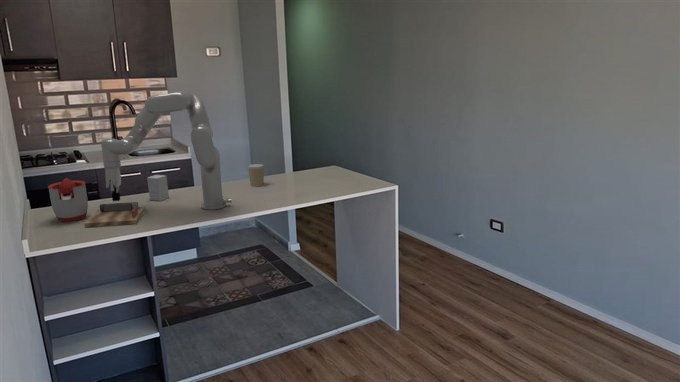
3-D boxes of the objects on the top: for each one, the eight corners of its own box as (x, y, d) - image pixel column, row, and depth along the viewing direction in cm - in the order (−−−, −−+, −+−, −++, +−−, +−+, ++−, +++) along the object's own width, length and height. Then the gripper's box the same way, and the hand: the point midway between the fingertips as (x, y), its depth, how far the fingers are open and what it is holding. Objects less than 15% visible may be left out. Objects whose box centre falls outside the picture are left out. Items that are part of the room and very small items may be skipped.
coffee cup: (268, 184, 290) (267, 164, 287) (257, 187, 282) (256, 167, 279) (256, 182, 295) (255, 163, 292) (246, 185, 287) (244, 166, 284)
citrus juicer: (51, 226, 217) (43, 184, 212) (55, 216, 233) (48, 176, 228) (89, 222, 223) (83, 180, 218) (91, 212, 239) (85, 172, 234)
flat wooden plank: (146, 210, 240) (144, 199, 239) (136, 224, 220) (135, 212, 218) (99, 213, 237) (97, 202, 235) (84, 227, 216) (83, 216, 214)
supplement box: (169, 197, 263) (167, 175, 260) (160, 201, 256) (157, 178, 253) (158, 196, 266) (155, 174, 262) (149, 200, 259) (146, 177, 256)
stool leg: (139, 207, 237) (138, 201, 236) (138, 209, 234) (137, 203, 233) (101, 209, 234) (100, 204, 233) (99, 211, 231) (98, 205, 230)
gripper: (108, 161, 239) (112, 196, 244) (99, 167, 225) (104, 205, 230) (124, 161, 241) (128, 196, 245) (116, 167, 226) (120, 204, 231)
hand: (116, 200), depth 238 cm, fingers closed
